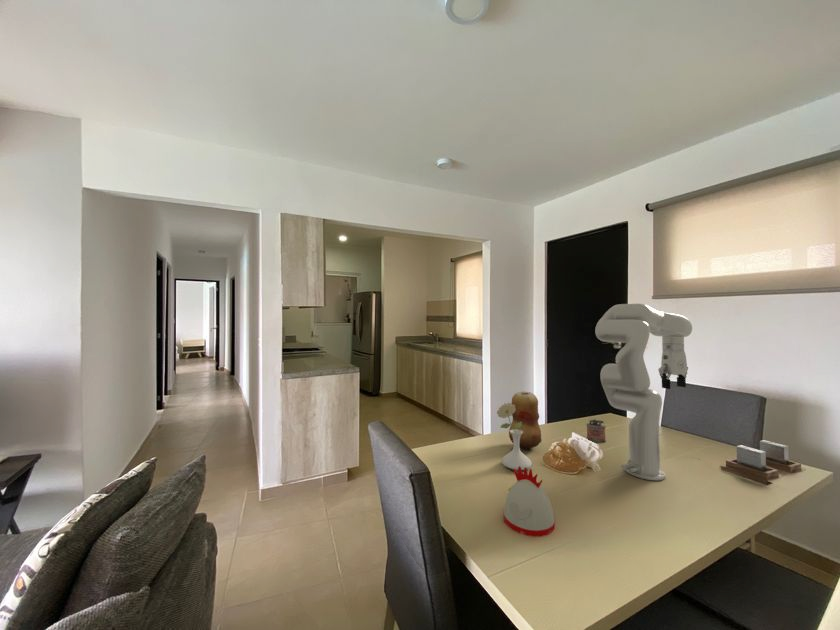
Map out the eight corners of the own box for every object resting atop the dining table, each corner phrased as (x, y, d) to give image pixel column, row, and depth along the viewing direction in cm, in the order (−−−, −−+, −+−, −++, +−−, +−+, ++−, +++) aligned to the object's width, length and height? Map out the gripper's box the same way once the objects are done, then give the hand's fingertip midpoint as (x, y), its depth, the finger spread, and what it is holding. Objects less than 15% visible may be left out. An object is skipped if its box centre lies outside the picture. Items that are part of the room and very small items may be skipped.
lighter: (586, 440, 159) (586, 419, 159) (586, 438, 162) (586, 417, 162) (605, 443, 155) (605, 421, 155) (605, 440, 158) (605, 419, 158)
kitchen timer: (515, 502, 105) (515, 454, 105) (561, 518, 96) (560, 466, 96) (495, 523, 94) (494, 469, 94) (544, 544, 85) (543, 485, 85)
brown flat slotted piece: (766, 485, 115) (766, 475, 115) (721, 469, 127) (721, 460, 127) (806, 473, 124) (805, 463, 124) (760, 459, 136) (760, 451, 136)
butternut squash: (508, 452, 145) (508, 394, 145) (509, 441, 157) (509, 388, 158) (542, 455, 141) (541, 396, 141) (540, 444, 153) (540, 390, 154)
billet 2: (784, 468, 124) (784, 447, 124) (760, 461, 131) (759, 440, 131) (789, 467, 125) (788, 446, 125) (764, 460, 132) (764, 440, 132)
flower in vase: (528, 461, 135) (527, 399, 136) (535, 474, 124) (534, 406, 124) (495, 460, 137) (495, 399, 137) (499, 472, 125) (499, 406, 126)
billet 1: (761, 475, 119) (760, 452, 119) (737, 467, 125) (736, 446, 126) (766, 474, 120) (765, 451, 120) (741, 466, 126) (741, 445, 127)
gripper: (668, 349, 137) (669, 390, 136) (695, 347, 143) (696, 387, 142) (650, 347, 144) (651, 387, 143) (677, 346, 150) (677, 384, 149)
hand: (673, 387), depth 143 cm, fingers open, 9 cm apart
